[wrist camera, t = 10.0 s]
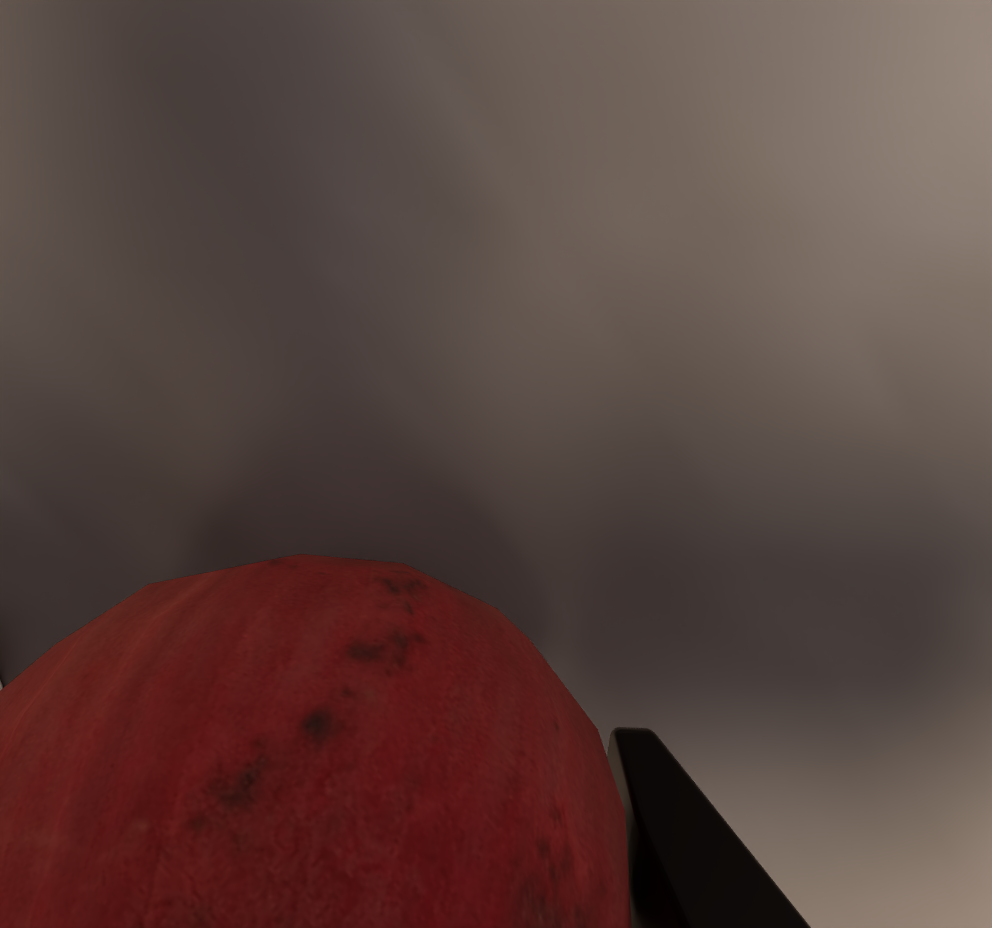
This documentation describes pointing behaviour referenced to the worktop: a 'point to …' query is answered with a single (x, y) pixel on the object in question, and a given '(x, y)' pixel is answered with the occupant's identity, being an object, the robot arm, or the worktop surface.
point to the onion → (304, 764)
